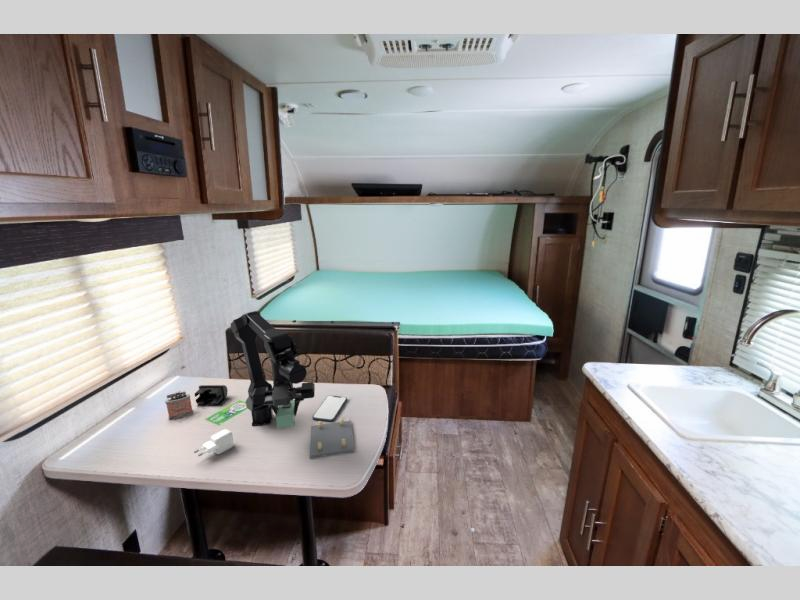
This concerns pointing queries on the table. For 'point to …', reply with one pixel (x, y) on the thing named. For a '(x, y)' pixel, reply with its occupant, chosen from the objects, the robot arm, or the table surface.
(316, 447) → the chassis
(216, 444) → the power adapter
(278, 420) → the circuit board module
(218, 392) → the end cap
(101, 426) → the table surface
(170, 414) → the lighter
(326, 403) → the smartphone
